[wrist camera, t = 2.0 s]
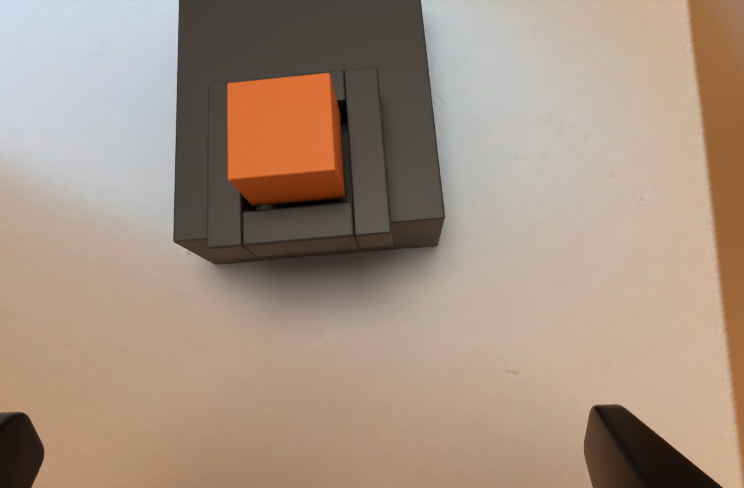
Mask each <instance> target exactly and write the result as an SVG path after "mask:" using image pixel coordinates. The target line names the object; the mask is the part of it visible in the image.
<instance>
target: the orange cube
mask: <svg viewBox="0 0 744 488" xmlns="http://www.w3.org/2000/svg"><path fill="white" fill-rule="evenodd" d="M227 130H228V180H229V181H230V182H231V183H232V185H233V186H234V187H235V188H236V189H237V190H238V191H239V192H240V193H241V194H242V195H243V196H244V197H245V198H246V199H247V201H248V202H249V203H250V204H251V205H252V206H261V205H272V204H283V203H294V202H305V201H316V200H328V199H339V198H345V182H344V166H343V150H342V134H341V118H340V111H339V107H338V103H337V99H336V95H335V91H334V87H333V84H332V80H331V76H330V74H329V73H323V74H313V75H303V76H293V77H283V78H274V79H264V80H254V81H244V82H234V83H228V84H227Z"/></svg>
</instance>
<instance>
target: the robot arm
mask: <svg viewBox="0 0 744 488" xmlns="http://www.w3.org/2000/svg"><path fill="white" fill-rule="evenodd" d="M584 454H585V459H586V463H587V467H588V471H589V475H590V478H591V482H592V486H593V488H723V487H721V486H720V485H719V484H718V483H716V482H715V481H714V480H713V479H712V478H710V477H709V476H708V475H707V474H705V473H704V472H703V471H702V470H700V469H699V468H698V467H697V466H696V465H694V464H693V463H692V462H691V461H689V460H688V459H687V458H686V457H685V456H683V455H682V454H681V453H680V452H678V451H677V450H676V449H675V448H674V447H672V446H671V445H670V444H669V443H667V442H666V441H665V440H664V439H663V438H661V437H660V436H659V435H658V434H656V433H655V432H654V431H653V430H652V429H650V428H649V427H648V426H647V425H645V424H644V423H643V422H642V421H641V420H639V419H638V418H637V417H636V416H634V415H633V414H632V413H631V412H630V411H628V410H627V409H626V408H624V407H623V406H621V405H617V404H613V405H594V406H593V407H592V408H591V410H590V414H589V419H588V424H587V429H586V435H585V440H584ZM43 459H44V446H43V444H42V442H41V440H40V438H39V436H38V434H37V432H36V430H35V428H34V426H33V424H32V422H31V420H30V418H29V417H28V415H26V414H25V413H22V412H2V413H0V488H31V487H32V485H33V483H34V481H35V478H36V476H37V474H38V472H39V469H40V467H41V465H42V462H43Z"/></svg>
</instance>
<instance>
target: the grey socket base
mask: <svg viewBox="0 0 744 488" xmlns="http://www.w3.org/2000/svg"><path fill="white" fill-rule="evenodd" d="M323 73H329V74H330V76H331V80H332V84H333V87H334V91H335V95H336V99H337V103H338V107H339V111H340V118H341V134H342V150H343V166H344V182H345V198H339V199H328V200H316V201H305V202H294V203H283V204H272V205H261V206H252V205H251V204H250V203H249V202H248V201H247V199H246V198H245V197H244V196H243V195H242V194H241V193H240V192H239V191H238V190H237V189H236V188H235V187H234V186H233V185H232V183H231V182H230V181H229V180H228V130H227V84H228V83H234V82H244V81H254V80H264V79H274V78H283V77H293V76H303V75H313V74H323ZM444 219H445V213H444V204H443V195H442V186H441V177H440V168H439V159H438V150H437V141H436V132H435V124H434V115H433V106H432V97H431V88H430V79H429V70H428V61H427V52H426V43H425V34H424V25H423V16H422V7H421V0H179V26H178V69H177V111H176V153H175V196H174V238H173V241H174V242H175V243H177V244H179V245H180V246H182V247H184V248H186V249H188V250H189V251H191V252H193V253H195V254H197V255H199V256H200V257H202V258H204V259H206V260H208V261H210V262H211V263H213V264H226V263H237V262H249V261H261V260H273V259H285V258H296V257H308V256H320V255H332V254H343V253H355V252H367V251H379V250H391V249H402V248H414V247H426V246H437V245H438V242H439V238H440V234H441V230H442V226H443V223H444Z"/></svg>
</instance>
